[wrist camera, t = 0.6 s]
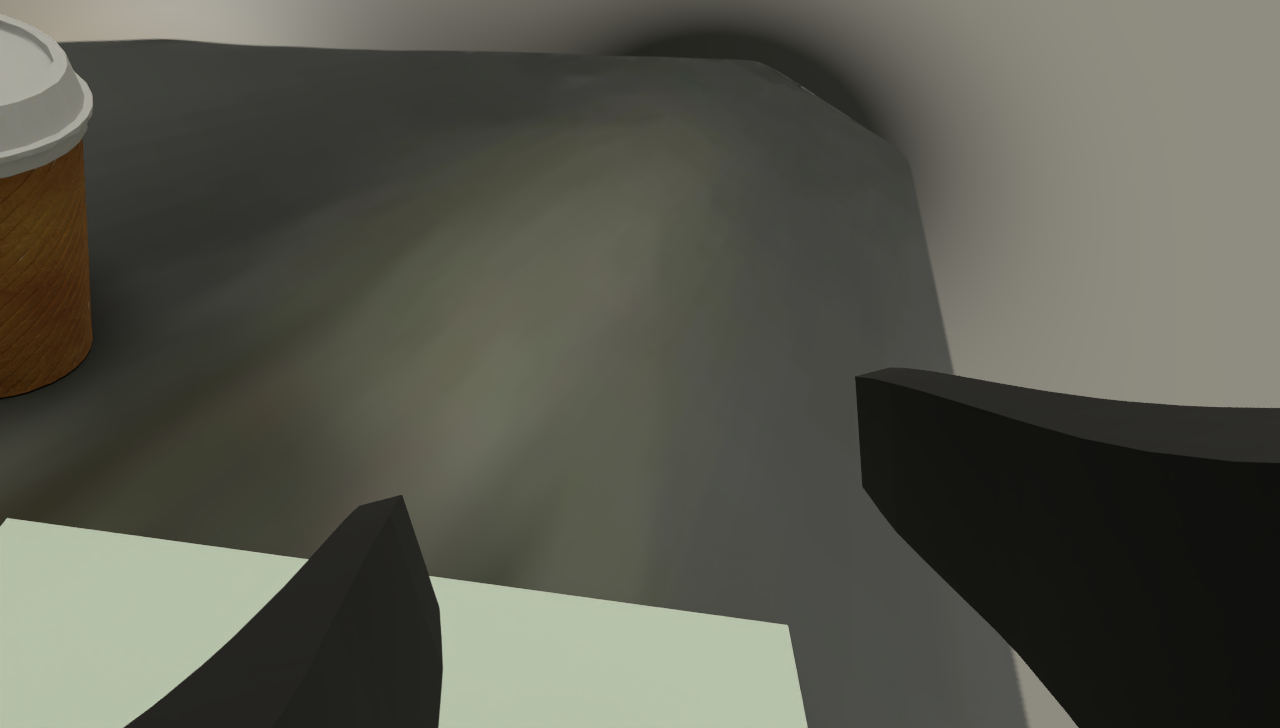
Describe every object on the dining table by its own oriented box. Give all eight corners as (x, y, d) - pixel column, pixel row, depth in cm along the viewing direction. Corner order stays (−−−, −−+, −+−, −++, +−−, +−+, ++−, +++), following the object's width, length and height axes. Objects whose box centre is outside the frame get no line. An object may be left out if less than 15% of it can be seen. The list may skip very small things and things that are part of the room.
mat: (830, 896, 23) (838, 891, 23) (-226, 839, 17) (-237, 830, 17) (781, 632, 30) (787, 625, 29) (11, 528, 24) (7, 518, 24)
